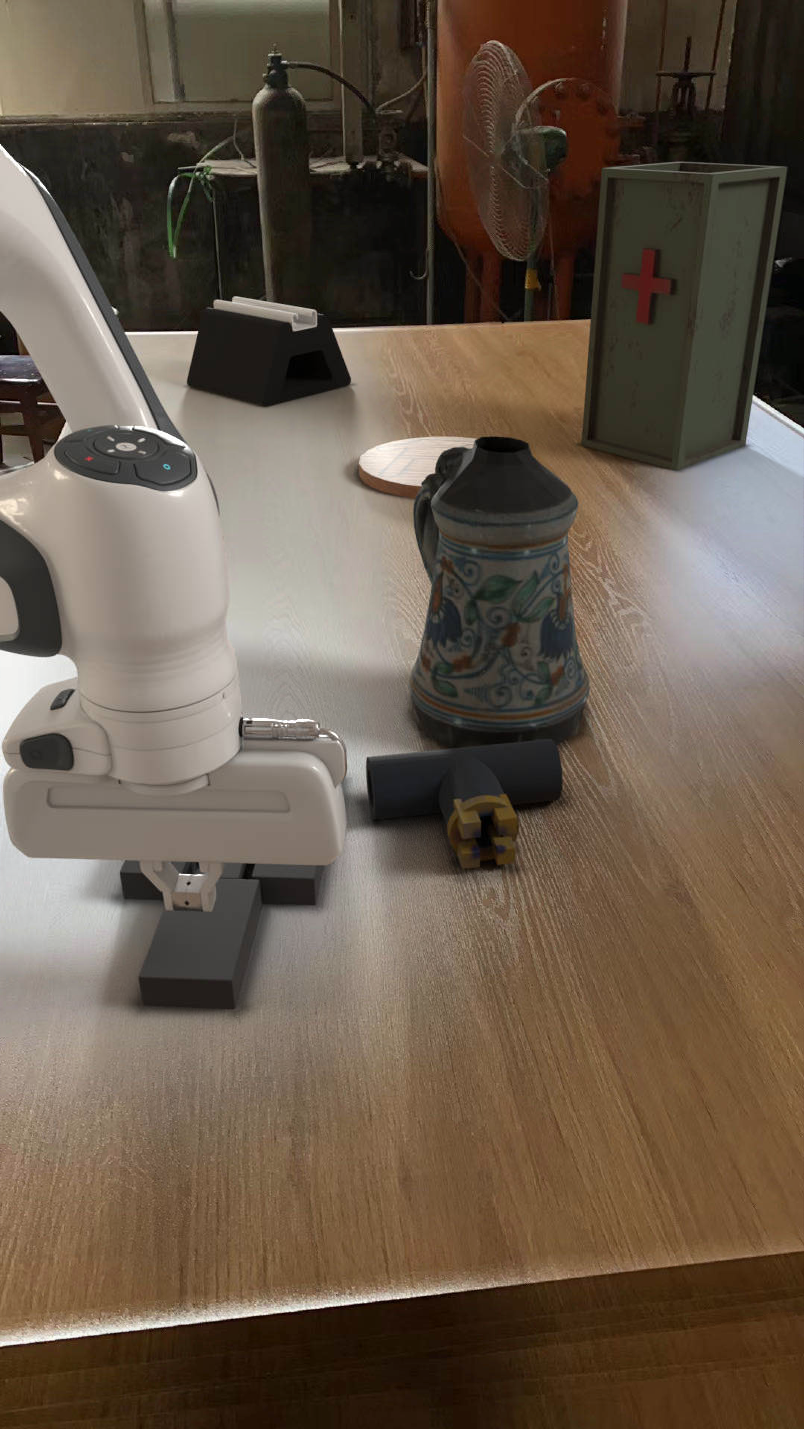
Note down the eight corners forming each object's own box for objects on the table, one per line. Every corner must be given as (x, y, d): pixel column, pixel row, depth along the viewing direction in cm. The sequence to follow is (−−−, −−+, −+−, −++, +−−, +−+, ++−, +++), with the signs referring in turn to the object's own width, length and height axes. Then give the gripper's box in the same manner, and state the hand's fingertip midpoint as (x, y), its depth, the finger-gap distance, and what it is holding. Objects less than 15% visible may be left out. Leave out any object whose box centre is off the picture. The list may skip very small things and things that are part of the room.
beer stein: (545, 778, 92) (564, 491, 79) (349, 722, 100) (338, 455, 87) (612, 694, 104) (637, 434, 92) (432, 651, 112) (433, 407, 100)
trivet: (342, 495, 155) (342, 482, 154) (377, 445, 176) (376, 433, 175) (518, 504, 151) (518, 491, 150) (531, 451, 172) (532, 440, 171)
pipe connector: (590, 802, 79) (387, 824, 77) (585, 861, 82) (388, 884, 80) (546, 726, 89) (365, 743, 87) (543, 780, 92) (367, 799, 90)
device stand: (263, 407, 198) (256, 320, 190) (187, 387, 211) (178, 306, 204) (351, 384, 212) (348, 303, 204) (275, 367, 225) (269, 290, 218)
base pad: (123, 899, 79) (119, 872, 77) (177, 777, 92) (173, 752, 91) (316, 906, 78) (314, 878, 77) (340, 781, 92) (339, 756, 90)
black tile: (142, 1006, 70) (137, 977, 68) (189, 877, 81) (185, 850, 79) (235, 1009, 69) (232, 980, 68) (269, 880, 80) (266, 853, 79)
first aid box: (581, 445, 175) (601, 168, 155) (650, 423, 186) (678, 161, 166) (676, 470, 163) (712, 174, 143) (745, 446, 174) (787, 166, 154)
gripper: (350, 694, 65) (358, 878, 72) (13, 689, 66) (53, 870, 73) (338, 751, 59) (348, 943, 66) (-28, 743, 60) (19, 934, 67)
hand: (191, 905), depth 69 cm, fingers closed
